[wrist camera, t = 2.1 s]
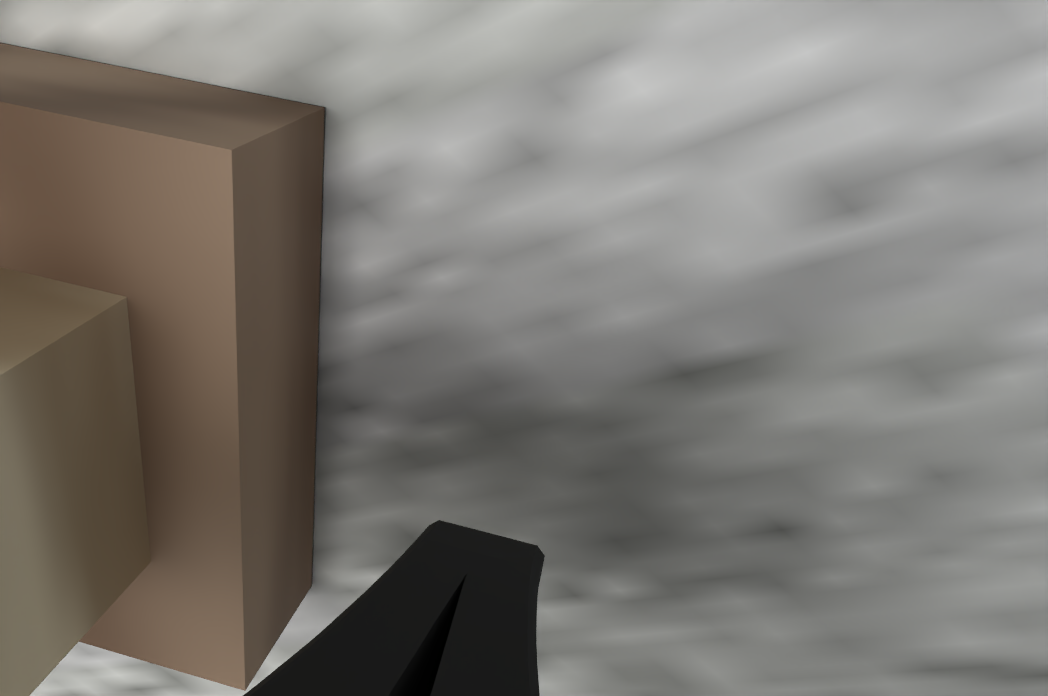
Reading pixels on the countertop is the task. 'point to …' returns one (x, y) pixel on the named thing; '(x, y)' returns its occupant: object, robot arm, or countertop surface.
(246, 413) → the board
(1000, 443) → the countertop surface
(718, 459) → the countertop surface
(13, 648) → the maple block
